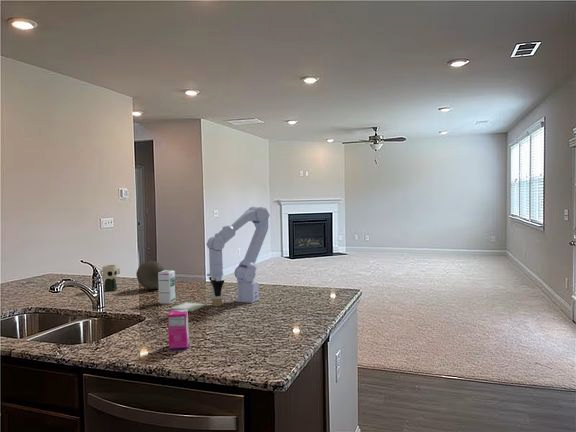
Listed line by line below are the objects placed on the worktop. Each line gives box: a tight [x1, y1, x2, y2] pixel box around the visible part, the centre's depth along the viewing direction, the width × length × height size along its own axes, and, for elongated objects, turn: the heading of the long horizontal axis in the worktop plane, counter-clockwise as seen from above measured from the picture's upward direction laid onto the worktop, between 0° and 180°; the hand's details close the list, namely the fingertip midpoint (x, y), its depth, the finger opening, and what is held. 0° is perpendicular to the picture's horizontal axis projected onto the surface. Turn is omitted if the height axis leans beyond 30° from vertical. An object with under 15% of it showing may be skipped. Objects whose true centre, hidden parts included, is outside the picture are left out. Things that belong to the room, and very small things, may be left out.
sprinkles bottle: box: [210, 276, 223, 307], centre depth 199 cm, size 5×5×14 cm
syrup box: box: [158, 269, 177, 305], centre depth 206 cm, size 6×6×14 cm
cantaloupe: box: [135, 260, 165, 290], centre depth 236 cm, size 14×14×15 cm
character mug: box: [99, 264, 121, 291], centre depth 236 cm, size 11×7×13 cm, turn 139°
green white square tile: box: [170, 301, 207, 312], centre depth 197 cm, size 11×11×1 cm
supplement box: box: [167, 309, 190, 351], centre depth 145 cm, size 6×6×12 cm
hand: (216, 294), depth 199 cm, fingers open, 7 cm apart
